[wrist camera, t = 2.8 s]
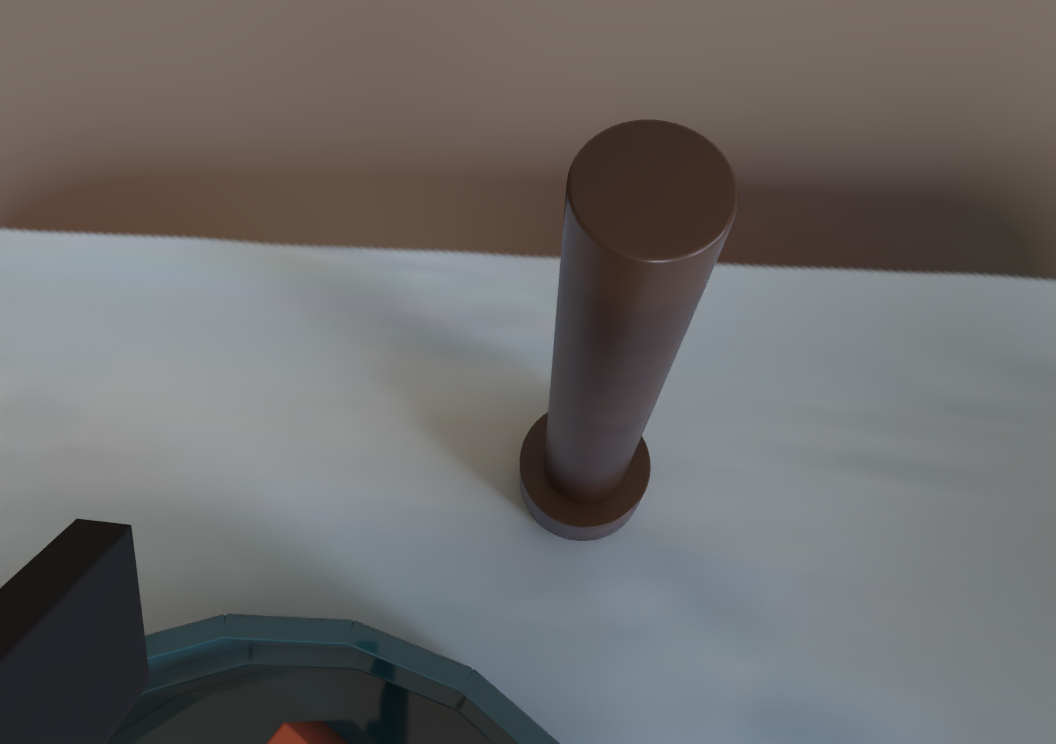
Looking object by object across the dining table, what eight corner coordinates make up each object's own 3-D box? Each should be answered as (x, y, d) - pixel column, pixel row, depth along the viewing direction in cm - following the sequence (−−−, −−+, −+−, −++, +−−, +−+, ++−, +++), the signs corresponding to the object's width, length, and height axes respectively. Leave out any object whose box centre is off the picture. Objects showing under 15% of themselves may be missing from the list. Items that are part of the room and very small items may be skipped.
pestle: (666, 496, 26) (850, 219, 11) (565, 565, 25) (622, 361, 11) (595, 400, 27) (679, 40, 13) (496, 462, 27) (462, 153, 12)
